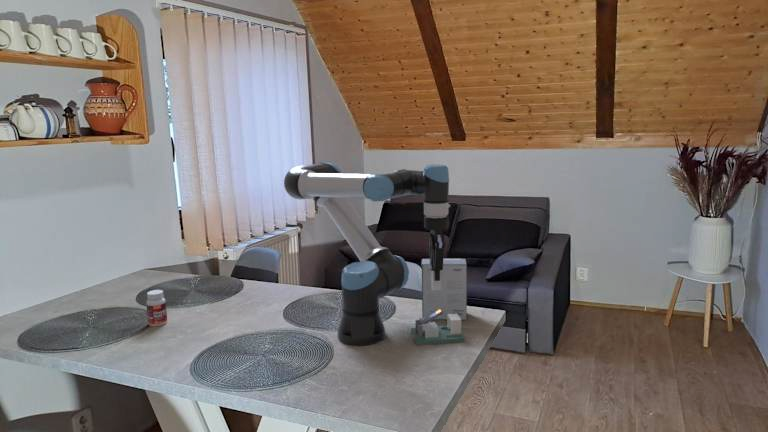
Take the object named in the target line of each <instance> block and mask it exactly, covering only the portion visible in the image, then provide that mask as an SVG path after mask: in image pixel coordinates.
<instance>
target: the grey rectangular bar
mask: <svg viewBox="0 0 768 432" xmlns="http://www.w3.org/2000/svg"><path fill="white" fill-rule="evenodd" d="M441 314H443V313H442V311H441V310H440V309H439V310H438V311H436V312H435V313H433V314H432V315H430V316H429V317H427V318H425V319H424V320H422V321H420V322H417V323H416V325H417V327H418V325H422V324H427V323H428V322H433V320H436V319H435V318H437V317H438V316H440V315H441Z"/></svg>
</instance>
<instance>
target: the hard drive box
mask: <svg viewBox="0 0 768 432" xmlns="http://www.w3.org/2000/svg"><path fill="white" fill-rule="evenodd" d="M467 273H468V264H467V260H466V258H443V270H441V290H432V271H431V265H430V258H422V259H421V307H422V308H421V312H422V314H421V315H422V317H421V318H427V317H429V316H430V315H432V314H433V313H435V312H436V311H438V310H439V309H440V310H441V311H442V313H443V314H441V315H440V316H438V317H437V318H435V319H434V320H447V314H458V315H459V317H460V318H461V321H462V320H463V321H465V320H468V315H467V312H468V311H467V304H468V302H467V300H468V299H467V298H468V297H467V295H468V294H467V293H468V292H467V291H468V289H467V287H468V282H467V280H468V274H467Z"/></svg>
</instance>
